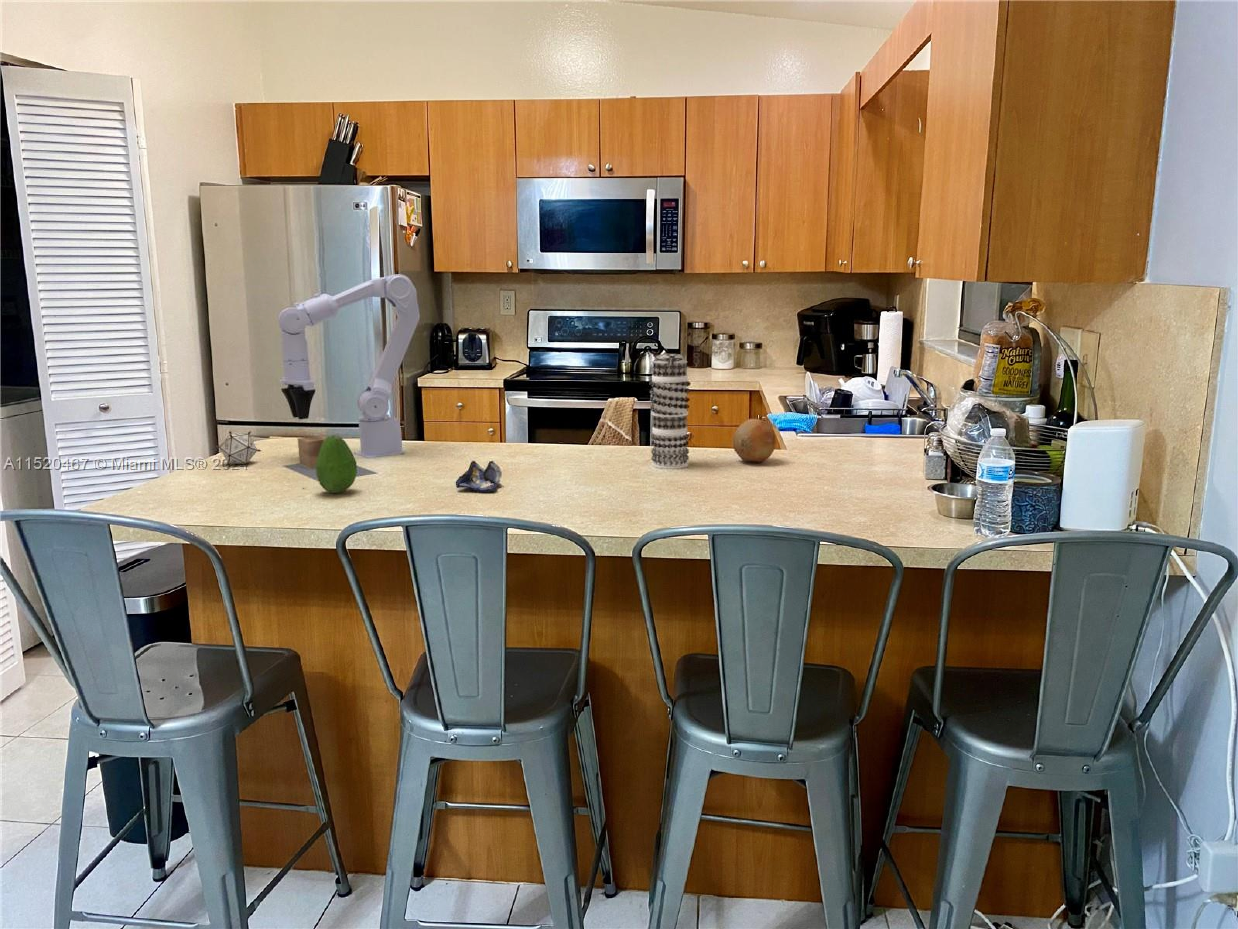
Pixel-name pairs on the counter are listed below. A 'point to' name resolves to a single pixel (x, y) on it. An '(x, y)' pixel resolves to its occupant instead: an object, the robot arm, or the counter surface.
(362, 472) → the mat
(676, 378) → the decorative candle
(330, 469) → the avocado
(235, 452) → the game die
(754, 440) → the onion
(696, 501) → the counter surface
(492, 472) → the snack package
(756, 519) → the counter surface
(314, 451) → the letter cube
